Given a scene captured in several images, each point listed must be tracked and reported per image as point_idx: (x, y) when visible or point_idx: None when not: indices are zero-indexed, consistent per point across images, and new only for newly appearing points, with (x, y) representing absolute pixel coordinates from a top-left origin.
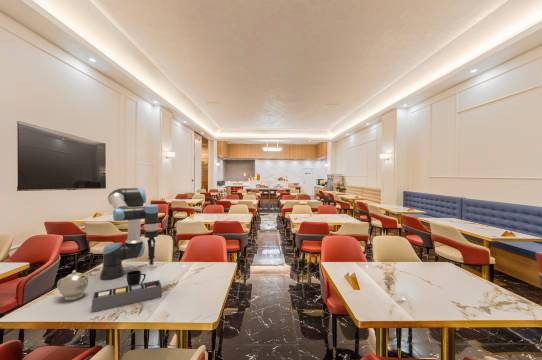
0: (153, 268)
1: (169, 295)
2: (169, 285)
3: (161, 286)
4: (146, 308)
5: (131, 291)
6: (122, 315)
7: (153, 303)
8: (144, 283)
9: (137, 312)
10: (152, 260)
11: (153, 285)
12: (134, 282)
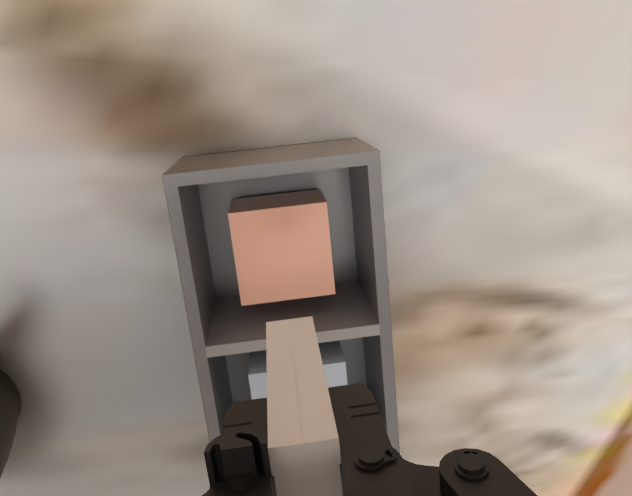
0: (313, 326)
1: (349, 56)
2: (54, 36)
3: (376, 149)
4: (524, 261)
5: (395, 442)
6: (544, 412)
7: (458, 209)
8: (205, 340)
9: (556, 321)
10: (385, 441)
11: (194, 231)
12: (5, 428)
